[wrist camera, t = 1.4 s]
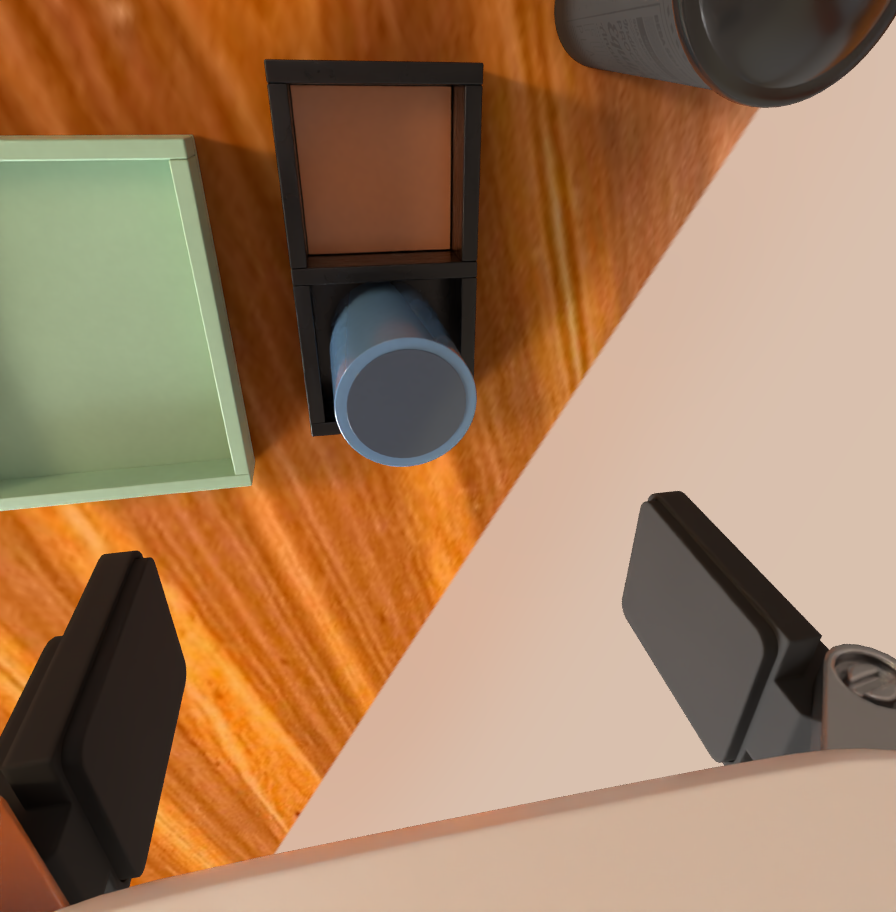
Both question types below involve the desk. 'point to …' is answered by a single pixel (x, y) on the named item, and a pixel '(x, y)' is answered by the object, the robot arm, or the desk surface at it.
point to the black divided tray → (377, 193)
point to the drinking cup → (727, 42)
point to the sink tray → (112, 325)
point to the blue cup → (397, 376)
